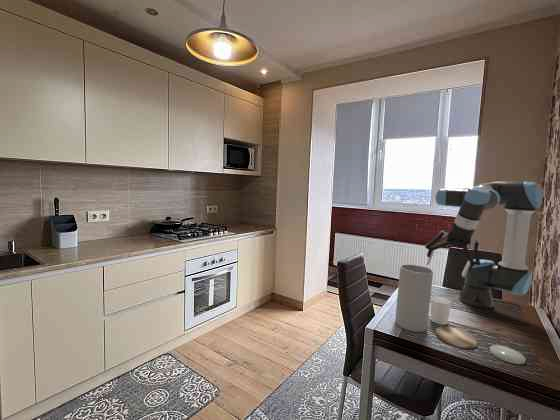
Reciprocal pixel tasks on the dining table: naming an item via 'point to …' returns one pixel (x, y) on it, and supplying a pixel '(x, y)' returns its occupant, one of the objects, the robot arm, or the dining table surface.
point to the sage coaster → (507, 354)
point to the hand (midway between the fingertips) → (445, 269)
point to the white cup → (440, 310)
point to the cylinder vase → (413, 297)
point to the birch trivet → (456, 337)
